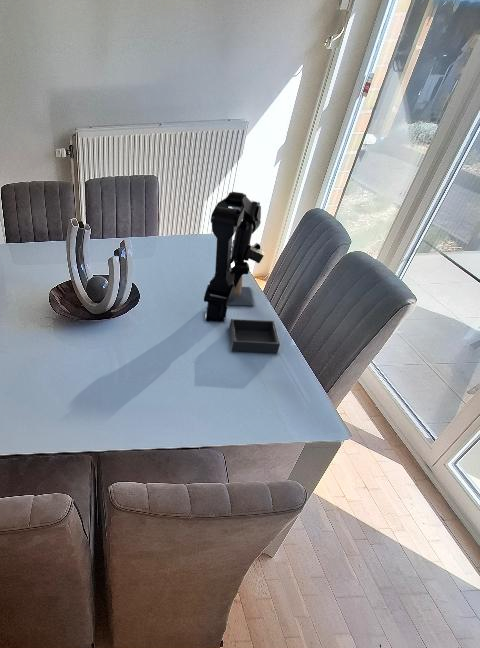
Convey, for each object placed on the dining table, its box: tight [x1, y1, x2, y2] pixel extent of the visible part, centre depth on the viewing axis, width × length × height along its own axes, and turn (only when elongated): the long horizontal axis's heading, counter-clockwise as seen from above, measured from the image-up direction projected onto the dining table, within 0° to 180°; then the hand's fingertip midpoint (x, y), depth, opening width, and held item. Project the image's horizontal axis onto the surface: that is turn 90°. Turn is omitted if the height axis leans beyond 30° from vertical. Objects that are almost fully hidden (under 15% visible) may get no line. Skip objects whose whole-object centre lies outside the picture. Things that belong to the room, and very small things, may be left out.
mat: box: [210, 286, 254, 307], centre depth 178 cm, size 15×15×1 cm
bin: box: [228, 318, 281, 355], centre depth 154 cm, size 15×15×4 cm
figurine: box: [232, 275, 243, 297], centre depth 173 cm, size 7×7×12 cm
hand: (233, 282), depth 174 cm, fingers closed on figurine, 7 cm apart
